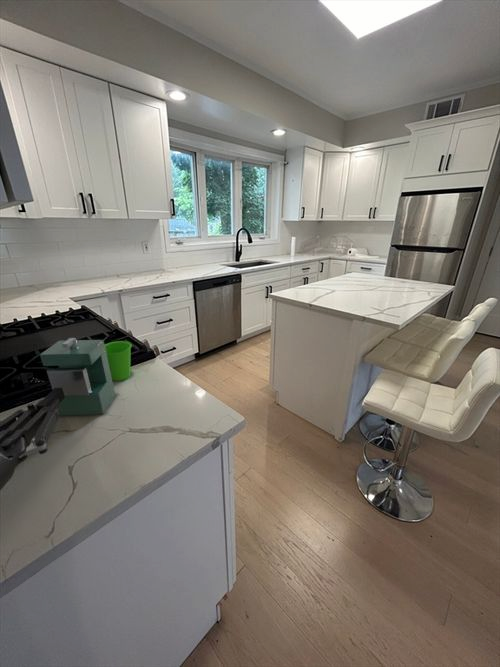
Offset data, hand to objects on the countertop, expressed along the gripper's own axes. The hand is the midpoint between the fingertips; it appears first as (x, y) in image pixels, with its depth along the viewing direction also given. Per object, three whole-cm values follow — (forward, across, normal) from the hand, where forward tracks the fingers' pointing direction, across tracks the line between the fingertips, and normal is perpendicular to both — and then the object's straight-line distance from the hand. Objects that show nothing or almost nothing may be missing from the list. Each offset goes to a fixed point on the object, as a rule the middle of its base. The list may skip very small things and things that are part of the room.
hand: (60, 392), depth 62 cm
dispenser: (+9, 0, -11) cm, 14 cm away
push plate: (+4, 0, -3) cm, 5 cm away
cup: (+24, +3, -11) cm, 26 cm away
